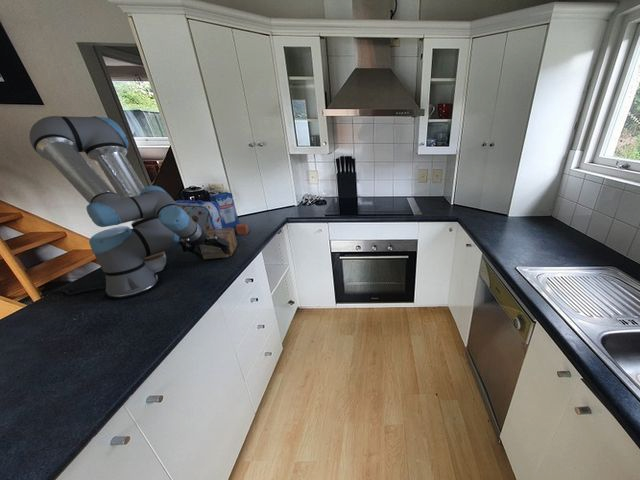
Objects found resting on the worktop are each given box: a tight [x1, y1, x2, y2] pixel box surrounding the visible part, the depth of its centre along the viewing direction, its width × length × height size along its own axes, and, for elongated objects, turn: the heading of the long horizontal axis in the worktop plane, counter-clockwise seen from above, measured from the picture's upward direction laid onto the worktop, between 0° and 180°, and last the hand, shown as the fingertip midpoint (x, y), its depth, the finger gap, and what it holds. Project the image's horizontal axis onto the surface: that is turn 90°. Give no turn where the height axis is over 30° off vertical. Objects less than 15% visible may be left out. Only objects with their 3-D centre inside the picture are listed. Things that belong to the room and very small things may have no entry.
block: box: [235, 222, 249, 236], centre depth 158 cm, size 5×5×5 cm
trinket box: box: [143, 251, 167, 274], centre depth 116 cm, size 11×11×9 cm
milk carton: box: [208, 191, 240, 228], centre depth 164 cm, size 10×6×20 cm, turn 148°
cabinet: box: [205, 227, 238, 257], centre depth 134 cm, size 15×12×10 cm
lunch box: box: [174, 199, 224, 232], centre depth 146 cm, size 28×10×22 cm, turn 85°
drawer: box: [198, 245, 230, 260], centre depth 129 cm, size 18×10×8 cm, turn 15°
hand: (213, 253), depth 125 cm, fingers closed on drawer, 10 cm apart
